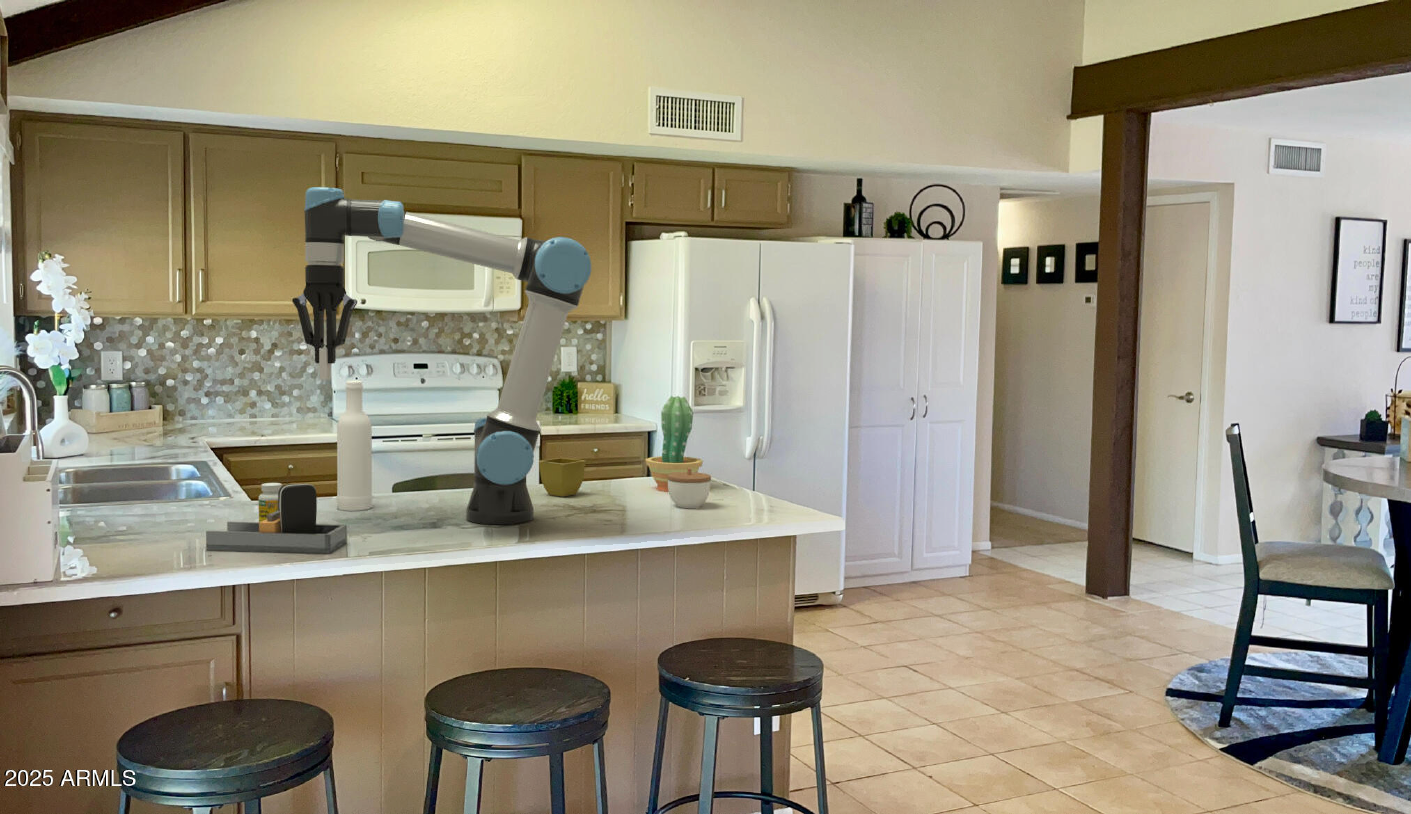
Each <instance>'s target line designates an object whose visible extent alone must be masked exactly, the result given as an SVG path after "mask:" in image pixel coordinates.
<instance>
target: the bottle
mask: <svg viewBox="0 0 1411 814" xmlns="http://www.w3.org/2000/svg"><path fill="white" fill-rule="evenodd" d="M363 388H364V386H363V381H362V380H354V379H353V380H346V382H345V396H346V397H345V400H346V401H345V402H346V403H345V405H346V407H345V408H346V409H345V412H343V413H342V414H341V415H340V416H339V419H338V421H337V425H336V430H337V431H336V440H337V441H336V443H337V444H336V447H337V448H336V451H337V453H336V454H337V455H336V457H337V459H336V463H337V465H336V467H337V469H336V471H337V472H336V473H337V475H336V476H337V478H336V479H337V485H336V487H337V493H336V494H337V495H336V502H337V509H338V510H339V511H344V512H360V511H367V510H370V509H372V507H373V504H372V503H373V493H372V491H373V485H372V482H373V481H372V480H373V477H372V475H373V474H372V473H373V472H372V468H373V466H372V464H373V462H372V461H373V460H372V459H373V457H372V456H373V455H372V450H373V449H372V448H373V447H372V445H373V444H372V443H373V442H372V441H373V440H372V437H373V436H372V432H373V431H372V427H373V426H372V423H371V420H370V417H369V416H368V415H367V414H366V413H365V412H364V411H363V390H364V389H363Z"/></svg>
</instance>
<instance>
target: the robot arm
mask: <svg viewBox="0 0 1411 814" xmlns="http://www.w3.org/2000/svg"><path fill="white" fill-rule="evenodd" d="M304 199H305V200H304V209H303V211H304V239H305V240H304V241H305V243H304V245H305V246H304V249H305V250H304V252H305V254H304V256H305V257H304V262H306V263H307V264H306V266H305V267H304V270H305V271H304V272H305V275H304V276H305V277H304V278H305V279H304V280H305V286H304V289H303V291H302V292H303V293H302V294H300V295H299V296H298V297H293V298H292V300H291V301H292V303H293V305H294V306H295V308H296V310H297V314H298V318H299V322H300V327H301V329H302V334H303V338H304V339H303V340H304V343H305V344H306V345H310V346H312V347H313V348H314V362H315V363H316V364H319V366H318V367H319V372H318V373H319V374H318V375H319V379H318V380H319V381H330V380H332V364H335V363H336V359H337V356H336V352H337V351H336V350H337V347H339V346H342V345H343V346H344V345H345V343H346V340H347V336H348V333H349V332H348V331H349V326H350V322H351V317H352V315H353V314H352V313H353V310H354V309H355V307H356V306H357V305H358V300H357V299H355V298H352V297H350V296H349V295H348V294H347V291H346V289H345V286H344V285H345V268H344V267H343V266H342V265H341V264H344V260H345V257H344V256H345V247H344V246H345V244H344V243H345V240H344V239H345V236H348V237H362V238H363V237H366V238H368V239H370V240H373V241H376V242H384V243H388V244H392V245H396V246H401V247H404V248H409V249H412V250H417V251H420V252H425V253H428V254H433V255H437V256H440V257H445V258H449V259H452V260H453V259H454V260H456V261H461V262H465V263H470V264H472V265H477V266H481V267H484V268H485V267H486V268H489V269H493V270H497V271H501V272H504V273H505V272H506V273H509V274H512V276H513V277H514V278H515V280H519V281H522V282H526V283H527V284H526V287H525V291H524V293H525V294H526V296H527V298H528V305H527V309H526V312H525V314H524V318H523V322H522V326H521V329H520V331H519V335H518V338H517V341H516V345H515V349H514V352H513V355H512V358H511V361H510V365H509V367H508V372H507V374H506V378H505V381H504V385H503V387H502V391H501V395H500V397H499V398H500V399H499V401H498V404H497V407H496V408H495V409H493V410H492V411H491V412H488V413H487V416H486V417H484V418H483V417H482V418H478V419H476V421H475V422H474V428H473V434H474V458H473V459H474V462H473V463H474V471H473V473H474V474H473V475H474V478H473V480H474V482H473V484H474V485H473V488H472V491H471V494H470V497H469V500H468V503H467V506H466V509H465V510H466V512H465V517H466V521H469V522H472V523H474V524H475V523H476V524H484V525H513V524H514V525H515V524H520V523H521V524H522V523H527V522H530V521H533V519H534V517H535V513H534V511H535V509H534V505H533V502H532V500H531V499H532V498H531V497H530V492H529V489H528V487H527V475H528V474H529V473H530V471H531V469H532V467H533V465H534V457H535V456H534V451H535V448H536V445H537V441H538V439H539V438H538V437H539V435H540V431H541V428H540V425H539V424H538V421H537V417H538V414H539V410H540V406H541V404H542V400H543V397H544V394H545V390H546V387H547V384H548V381H549V377H550V374H551V371H552V369H553V364H554V361H555V358H556V355H557V351H558V348H559V344H560V341H561V338H562V335H563V331H564V329H565V325H566V321H567V318H568V315H569V313H570V312H572V311H574V310H576V309H577V308H578V306H579V303H580V300H581V296H582V294H583V291H584V287H585V285H586V284H587V283H588V281H589V279H590V277H591V273H592V260H591V257H590V255H589V253H588V251H587V249H586V248H585V247H584V246H583V245H582V244H581V243H580V242H578V241H577V240H574V239H573V238H568V237H565V236H558V237H557V236H556V237H552V238H550V239H548V240H541V239H535V238H531V237H526V236H525V237H523V238H522V239H515V238H512V237H508V236H504V235H500V234H496V233H493V232H487V231H485V230H480V229H476V228H472V227H468V226H465V225H461V224H460V225H459V224H457V223H453V222H448V221H445V220H440V219H436V218H432V217H429V216H425V215H421V214H416V213H414V212H408V211H405V209H404V204H403V203H402V202H401V201H395V200H389V199H384V200H379V199H377V200H376V199H352V198H351V199H350V198H346V197H345V195H344V191H343V190H342V188H341V189H340V188H338V187H337V188H335V187H325V186H324V187H323V186H318V187H317V186H315V187H309V188H308V189H307V190H306V192H305V198H304ZM342 302H343V303H342ZM308 303H309V304H310V306H311V307H312V314H313V326H312V322H311V317H310V315H309V310H308V307H307V304H308ZM341 303H342V305H343V308H342V310H341V315H340V320H339V323H338V329H337V314H338V307H339V306H340V305H341ZM325 315H326V316H325ZM324 318H325V319H326V320H325V319H324ZM324 320H325V321H324ZM325 322H326V324H325ZM325 325H326V344H325Z"/></svg>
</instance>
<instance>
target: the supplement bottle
mask: <svg viewBox="0 0 1411 814" xmlns="http://www.w3.org/2000/svg"><path fill="white" fill-rule="evenodd" d="M281 486H283V485H282V483H279V482H266V483H261V492H262V493H260V494H259V495H258V522H259V523H260V522H262V521H264V520H266V519H267V515H269V514H271V513H274V512H276V511H278V492H279V489H280V488H281Z"/></svg>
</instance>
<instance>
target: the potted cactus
mask: <svg viewBox="0 0 1411 814" xmlns="http://www.w3.org/2000/svg"><path fill="white" fill-rule="evenodd" d="M660 417H661V419H660V420H661V422H660V423H661V424H660V425H661V430H662V435H663V440H662V450H661V455H660V456H653V457H648V458H645V465H646V466H647V467H648V468H649V470H650V474H651V477H652V478H653V480H654V482H655V483H656V484H657V486H656V490H658V491H659V492H660V491H661V492H665V493H666V492H668V493H669V491H668V479H667V475H668V474H670V473H676V472H687V469H688V468H691V472H697V473H699V469H700V468H702V466H703V462H704V460H702V459H701V458H698V457H697V458H696V457H691V456H685V451H686V447H687V443H688V438H689V436H690V433H691V431H692V429H693V418H694V411H693V408H692V407H691V406H690V403H689V402H688V400H687V399H686V396H682V397H680V396H675V397H674V396H672V395H671V396H670V397H669V398H668V400H667V401H666V402H665V404H664V405H663V407H662V410H661V412H660Z"/></svg>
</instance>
